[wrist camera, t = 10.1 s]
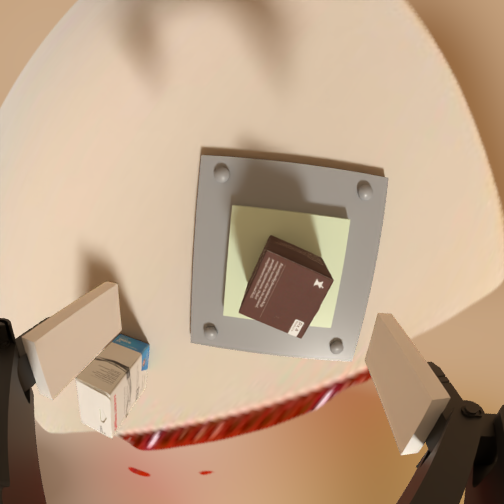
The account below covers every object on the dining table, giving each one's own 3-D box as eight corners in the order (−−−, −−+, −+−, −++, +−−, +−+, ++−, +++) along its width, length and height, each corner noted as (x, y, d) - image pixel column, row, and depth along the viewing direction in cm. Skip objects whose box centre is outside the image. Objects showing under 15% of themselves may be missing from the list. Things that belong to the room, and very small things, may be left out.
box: (270, 232, 30) (267, 247, 23) (323, 257, 30) (336, 279, 23) (246, 285, 31) (236, 313, 24) (297, 307, 31) (301, 341, 24)
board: (203, 155, 31) (198, 153, 29) (385, 178, 30) (392, 177, 27) (192, 338, 36) (187, 347, 34) (350, 357, 34) (353, 366, 32)
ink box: (119, 331, 37) (72, 376, 26) (151, 344, 37) (110, 395, 25) (117, 376, 39) (79, 423, 28) (146, 388, 39) (112, 440, 27)
